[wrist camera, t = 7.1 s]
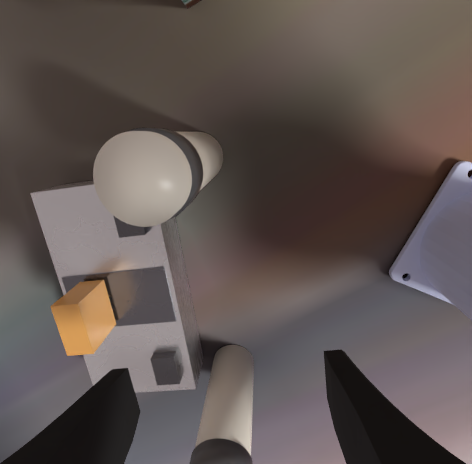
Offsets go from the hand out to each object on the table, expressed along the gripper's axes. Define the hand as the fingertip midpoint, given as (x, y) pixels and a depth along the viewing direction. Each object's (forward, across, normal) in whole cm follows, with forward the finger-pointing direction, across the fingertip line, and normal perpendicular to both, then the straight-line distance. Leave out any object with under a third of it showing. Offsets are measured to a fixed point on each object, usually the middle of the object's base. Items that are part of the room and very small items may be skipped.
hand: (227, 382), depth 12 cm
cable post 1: (+10, +2, -8) cm, 13 cm away
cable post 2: (+10, +1, +8) cm, 13 cm away
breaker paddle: (+7, +8, 0) cm, 11 cm away
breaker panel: (+11, +7, 0) cm, 13 cm away
